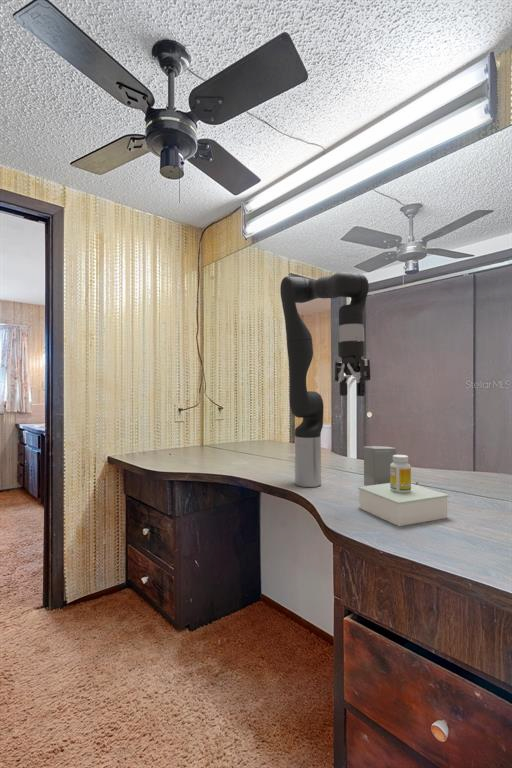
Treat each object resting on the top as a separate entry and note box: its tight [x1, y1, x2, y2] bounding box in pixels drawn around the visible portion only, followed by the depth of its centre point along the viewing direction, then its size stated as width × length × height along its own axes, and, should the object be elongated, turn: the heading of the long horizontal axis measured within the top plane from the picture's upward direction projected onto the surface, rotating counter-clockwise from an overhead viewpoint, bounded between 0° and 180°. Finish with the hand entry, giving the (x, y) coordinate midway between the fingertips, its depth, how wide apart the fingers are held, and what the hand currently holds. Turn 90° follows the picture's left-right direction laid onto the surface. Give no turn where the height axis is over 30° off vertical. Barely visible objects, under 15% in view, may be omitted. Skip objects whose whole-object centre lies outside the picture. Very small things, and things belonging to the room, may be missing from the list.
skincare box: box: [363, 445, 397, 486], centre depth 124 cm, size 8×7×16 cm
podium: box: [357, 483, 450, 527], centre depth 108 cm, size 17×17×6 cm
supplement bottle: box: [390, 454, 412, 493], centre depth 108 cm, size 5×5×10 cm
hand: (351, 395), depth 115 cm, fingers open, 8 cm apart
